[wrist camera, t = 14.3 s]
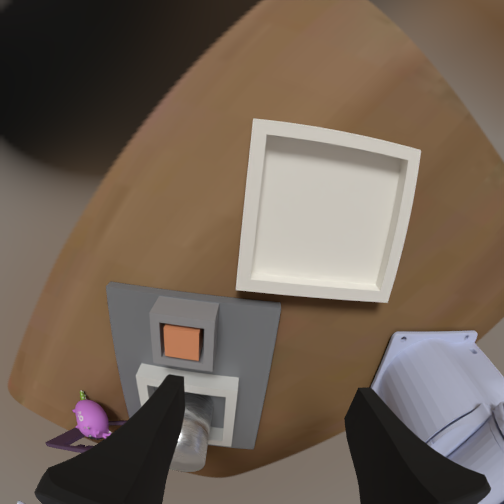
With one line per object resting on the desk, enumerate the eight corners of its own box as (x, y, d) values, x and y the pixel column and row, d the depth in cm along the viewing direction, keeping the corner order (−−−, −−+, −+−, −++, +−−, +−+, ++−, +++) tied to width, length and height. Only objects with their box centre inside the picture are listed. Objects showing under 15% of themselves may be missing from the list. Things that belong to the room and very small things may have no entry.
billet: (216, 390, 22) (206, 450, 17) (211, 420, 24) (203, 475, 18) (166, 380, 22) (147, 438, 16) (166, 411, 23) (150, 464, 18)
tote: (410, 149, 17) (421, 150, 15) (380, 293, 20) (387, 302, 19) (253, 120, 17) (253, 118, 15) (237, 280, 20) (235, 290, 19)
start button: (203, 317, 19) (199, 333, 18) (202, 344, 20) (198, 360, 18) (170, 313, 19) (163, 327, 18) (171, 340, 20) (165, 355, 18)
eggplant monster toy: (49, 452, 20) (101, 462, 17) (27, 405, 20) (72, 405, 18) (91, 429, 26) (147, 429, 24) (73, 387, 27) (125, 380, 24)
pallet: (280, 302, 20) (283, 326, 18) (253, 443, 26) (253, 467, 23) (110, 281, 20) (91, 301, 17) (135, 425, 26) (127, 446, 23)
